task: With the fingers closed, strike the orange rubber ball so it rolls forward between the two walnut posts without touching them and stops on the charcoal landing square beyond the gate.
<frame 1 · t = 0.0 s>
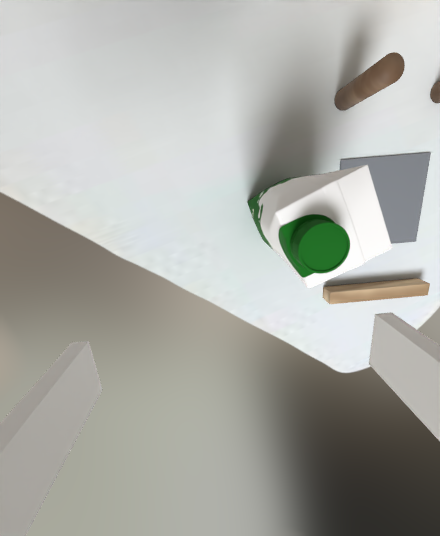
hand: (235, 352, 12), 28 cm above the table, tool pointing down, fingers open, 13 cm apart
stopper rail: (369, 287, 42), on the table
milk carton: (278, 211, 38), on the table
post 2: (344, 99, 33), on the table
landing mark: (379, 202, 38), on the table
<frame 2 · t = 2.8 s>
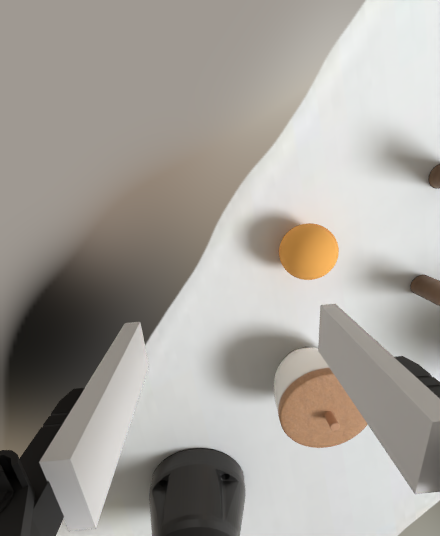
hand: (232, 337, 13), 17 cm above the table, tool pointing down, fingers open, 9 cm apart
ball: (307, 251, 27), on the table
post 2: (420, 284, 32), on the table
lidded jar: (302, 365, 35), on the table
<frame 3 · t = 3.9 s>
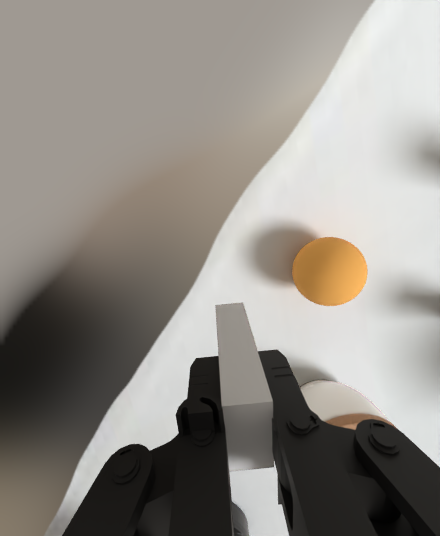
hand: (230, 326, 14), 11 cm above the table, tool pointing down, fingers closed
ball: (327, 271, 22), on the table
lidded jar: (316, 399, 30), on the table
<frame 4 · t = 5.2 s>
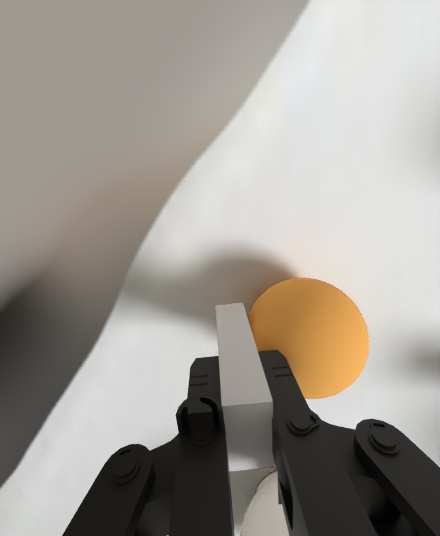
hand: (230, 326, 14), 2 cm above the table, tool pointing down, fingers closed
ball: (302, 334, 13), on the table, touching gripper
lidded jar: (290, 488, 22), on the table
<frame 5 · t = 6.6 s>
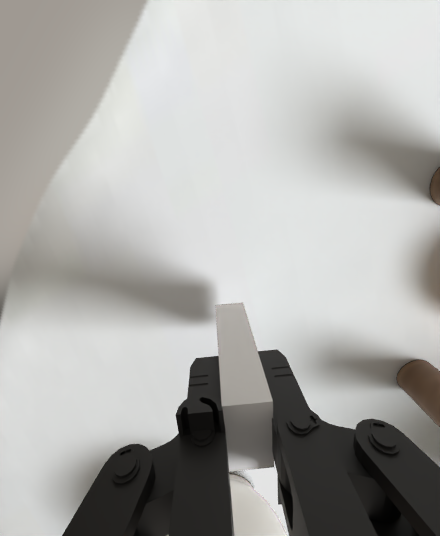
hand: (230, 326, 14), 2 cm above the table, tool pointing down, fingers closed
post 2: (414, 375, 18), on the table
lidded jar: (218, 494, 21), on the table
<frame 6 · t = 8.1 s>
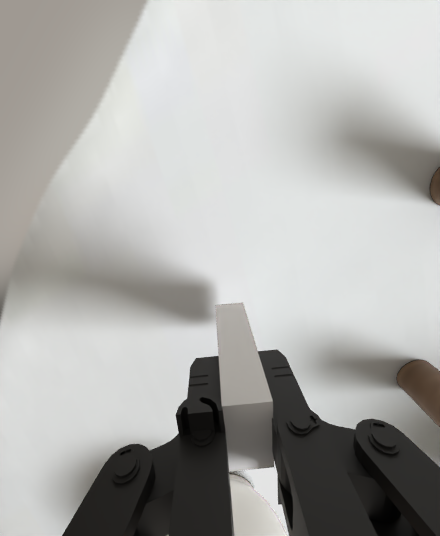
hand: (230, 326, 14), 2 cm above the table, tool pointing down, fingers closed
post 2: (414, 375, 18), on the table
lidded jar: (218, 494, 21), on the table
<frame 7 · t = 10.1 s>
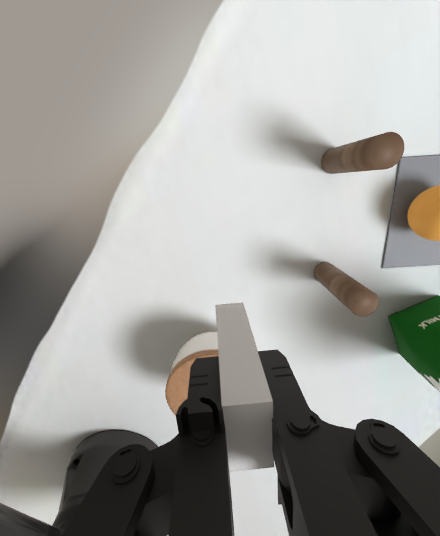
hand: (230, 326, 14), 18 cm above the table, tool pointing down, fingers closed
post 1: (333, 161, 28), on the table
milk carton: (416, 324, 35), on the table
post 2: (324, 271, 32), on the table
lidded jar: (212, 350, 35), on the table
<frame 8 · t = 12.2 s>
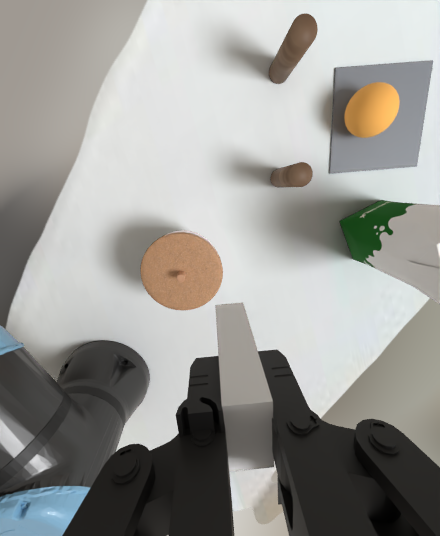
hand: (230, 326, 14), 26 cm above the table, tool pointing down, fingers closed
post 1: (278, 72, 33), on the table
milk carton: (365, 230, 40), on the table
ball: (370, 111, 32), on the table
post 2: (279, 178, 37), on the table
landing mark: (377, 120, 35), on the table
lidded jar: (186, 257, 40), on the table
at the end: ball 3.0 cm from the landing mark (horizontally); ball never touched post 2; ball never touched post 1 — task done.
